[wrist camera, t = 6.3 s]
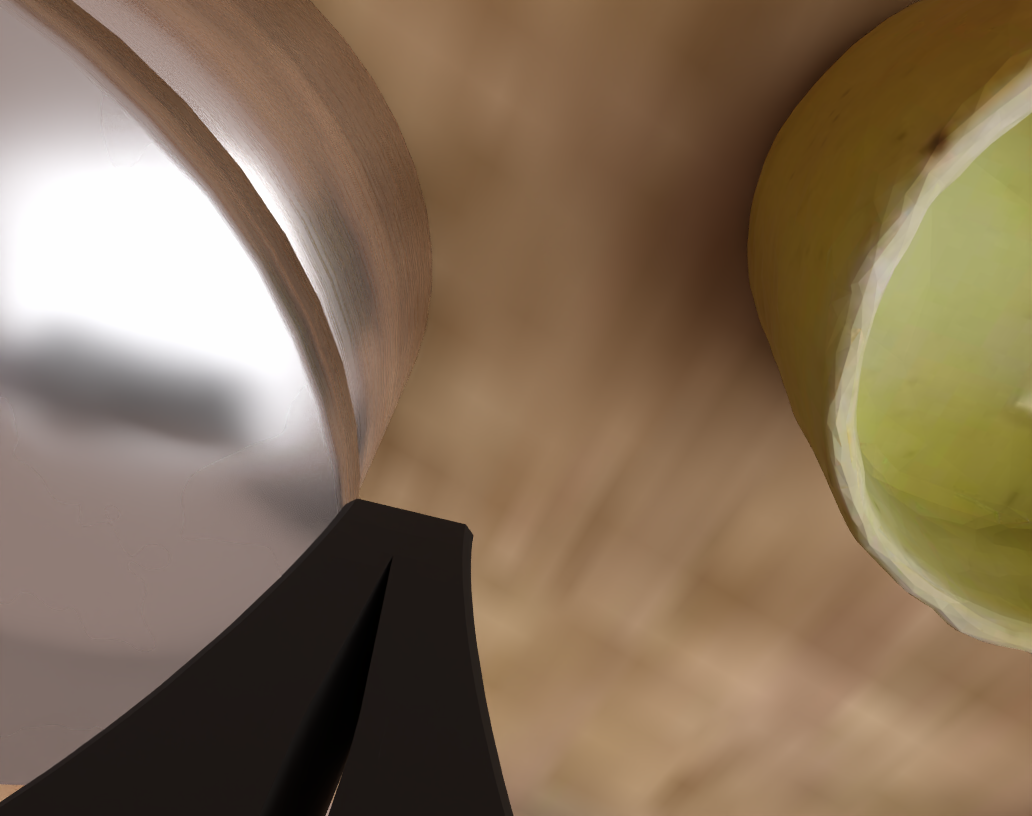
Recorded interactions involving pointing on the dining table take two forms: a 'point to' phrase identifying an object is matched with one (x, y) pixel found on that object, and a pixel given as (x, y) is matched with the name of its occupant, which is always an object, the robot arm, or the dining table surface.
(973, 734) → the dining table surface
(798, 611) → the dining table surface
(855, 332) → the mug
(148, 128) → the cooker lid
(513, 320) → the dining table surface
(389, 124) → the silver pot
